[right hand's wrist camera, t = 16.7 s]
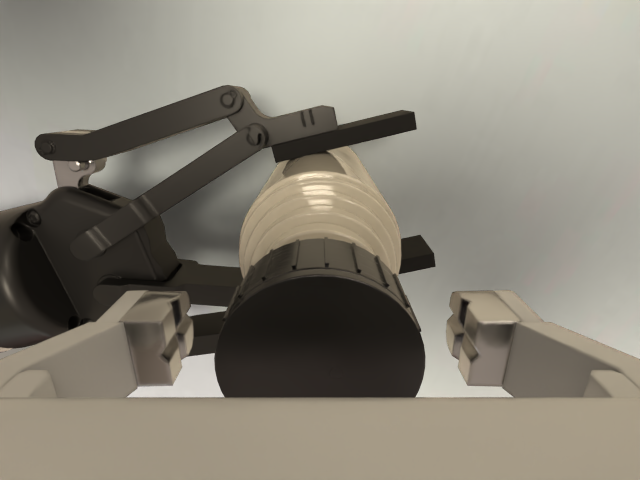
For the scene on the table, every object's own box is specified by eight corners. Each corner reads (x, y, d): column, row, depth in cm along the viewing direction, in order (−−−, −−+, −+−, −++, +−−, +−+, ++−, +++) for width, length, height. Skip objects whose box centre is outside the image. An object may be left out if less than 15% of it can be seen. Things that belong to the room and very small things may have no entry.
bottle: (366, 223, 27) (448, 447, 10) (280, 228, 27) (209, 459, 10) (364, 133, 24) (464, 216, 7) (270, 140, 25) (156, 237, 8)
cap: (414, 234, 9) (439, 270, 7) (401, 385, 11) (419, 448, 9) (224, 235, 9) (199, 273, 7) (241, 386, 11) (223, 450, 9)
